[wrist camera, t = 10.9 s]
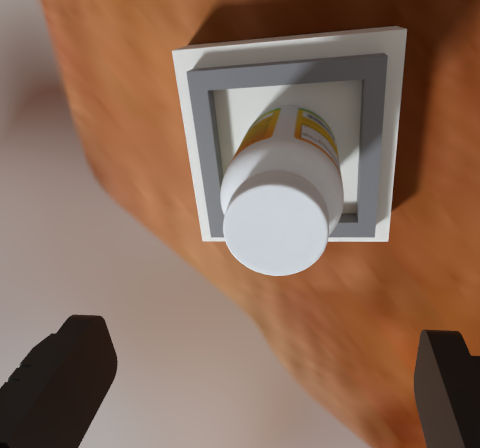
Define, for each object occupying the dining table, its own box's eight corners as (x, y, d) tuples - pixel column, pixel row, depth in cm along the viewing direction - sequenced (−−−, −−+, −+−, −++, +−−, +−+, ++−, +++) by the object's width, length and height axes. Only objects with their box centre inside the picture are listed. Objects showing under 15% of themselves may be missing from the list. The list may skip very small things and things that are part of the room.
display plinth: (187, 45, 24) (164, 52, 21) (396, 25, 22) (412, 30, 18) (212, 220, 30) (198, 250, 26) (381, 219, 28) (391, 251, 24)
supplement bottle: (244, 191, 25) (207, 285, 17) (243, 103, 22) (199, 161, 14) (332, 196, 24) (341, 298, 16) (341, 104, 22) (358, 168, 13)
